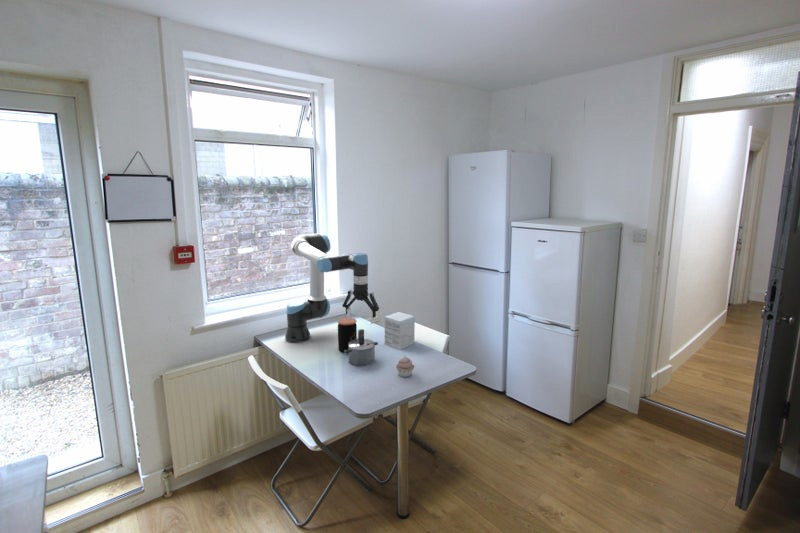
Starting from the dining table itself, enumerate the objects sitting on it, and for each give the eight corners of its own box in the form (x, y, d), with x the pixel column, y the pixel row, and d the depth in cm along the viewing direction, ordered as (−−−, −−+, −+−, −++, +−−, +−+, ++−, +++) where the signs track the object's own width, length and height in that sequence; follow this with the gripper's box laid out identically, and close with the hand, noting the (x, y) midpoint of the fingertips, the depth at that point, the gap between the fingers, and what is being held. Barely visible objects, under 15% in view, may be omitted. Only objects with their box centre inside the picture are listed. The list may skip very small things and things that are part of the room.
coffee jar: (353, 354, 225) (353, 324, 222) (335, 353, 228) (334, 322, 224) (359, 347, 236) (358, 318, 232) (342, 345, 238) (341, 316, 234)
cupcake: (405, 369, 208) (405, 351, 206) (418, 375, 202) (418, 356, 200) (391, 374, 202) (392, 356, 200) (404, 381, 195) (404, 362, 193)
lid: (343, 351, 212) (343, 333, 210) (354, 341, 225) (354, 324, 223) (368, 354, 208) (368, 336, 206) (378, 344, 221) (378, 327, 219)
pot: (351, 370, 206) (351, 354, 204) (338, 361, 217) (338, 345, 215) (384, 360, 218) (384, 345, 216) (370, 352, 229) (370, 337, 227)
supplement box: (398, 338, 251) (398, 311, 247) (414, 343, 242) (415, 316, 239) (383, 344, 241) (383, 316, 237) (400, 350, 232) (400, 321, 229)
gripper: (335, 282, 209) (336, 320, 214) (380, 287, 202) (380, 326, 206) (342, 279, 216) (342, 316, 221) (385, 283, 209) (385, 322, 213)
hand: (360, 321), depth 214 cm, fingers open, 13 cm apart
